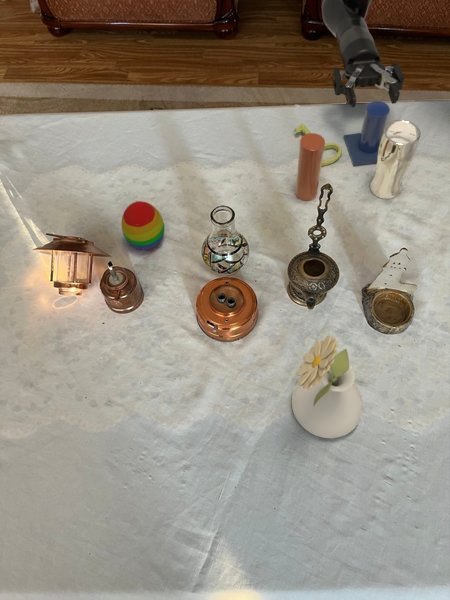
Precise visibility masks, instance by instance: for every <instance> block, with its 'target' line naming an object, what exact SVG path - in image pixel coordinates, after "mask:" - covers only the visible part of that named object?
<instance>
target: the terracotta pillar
mask: <svg viewBox="0 0 450 600" xmlns="http://www.w3.org/2000/svg"><path fill="white" fill-rule="evenodd" d="M325 144H326V140H325V138H324V137H323V136H322V135H320V134H318V133H316V132H315V133H314V132H311V133H309V134H306V135H305V134H303V136H301V137H300V140H299V148H298V157H297V158H298V160H297V170H296V180H295V190H294V194H295V196H296V197H297V199H299V200H300V201H304V202H309V201H310V202H311V201H312V200H314V199H316V197H317V196H318V193H319V192H318V191H319V185H320V178H321V172H322V166H321V165H322V161H323V158H324V151H325V150H324V145H325Z"/></svg>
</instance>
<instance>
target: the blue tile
mask: <svg viewBox="0 0 450 600" xmlns="http://www.w3.org/2000/svg"><path fill="white" fill-rule="evenodd" d="M360 135H361V132H355V133H349V134H344V135H343V140H344V143H345V145H346V149H347V151H348V154H349V157H350V160H351V163H352V166H353V167H360V166H369V165H377V152H375V153H371V154H369V153H364V152H362V151H361V150H360V149H359V147H358V143H359V139H360Z"/></svg>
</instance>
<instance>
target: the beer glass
mask: <svg viewBox="0 0 450 600" xmlns="http://www.w3.org/2000/svg"><path fill="white" fill-rule="evenodd" d="M420 138H421V130H420V128H419V127H418V126H417V124H415V123H414V122H411V121H409V120H406V119H396V120H392V121H390V122H389V123H386V126H385V129H384V132H383V135H382V137H381V140H380V143H379V147H378V151H377V163H376V166H375V167H376V168H375V174H374V177H373V178H372V180H371V181H370V185H369V186H370V187H369V189H370V192H371V193H372V194H373V195H374V196H376V197H377V198H380V199H383V200H389V199H394V198H395V197H397V196H398V195H399V194H400V192H401V186H402V180H403V178H404V176H405V174H406V172H407V171H408V169H409V168H410V166H411V164H412V162H413V160H414V159H415V156H416V153H417V151H418V147H419V142H420Z"/></svg>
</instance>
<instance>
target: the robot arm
mask: <svg viewBox="0 0 450 600" xmlns="http://www.w3.org/2000/svg"><path fill="white" fill-rule="evenodd" d="M371 3H372V0H323V1H322V3H321V17H322V20H323V23H324V25H325V26H326V28H327V29H328V30H329V31H330V33H331V34H332V35H333V36H334V37H335V38H336V41H337V44H338V45H337V46H338V49H339V57H340V59H341V61H342V65H343V68H344V70H340V68H339V67H337V66H336V67H333V72H332V77H331V80H332V84H333V91H334V95H335V96H340V95H343V96H344V98H345V102H346V104H347V105H348V106H350V108H355V107H356V104H357V96H356V93H355V91H356V89H357V88H358V87H360V88H366V87H376V88H378V89H380V90H385V91H387V93H388V96H389V99H390V102H391V104H393V105H394V104H397V101H399V99H400V96H401V95H400V94H401V93H400V91H401V90H402V89H403V85H404V82H405V76H404V74H403V72H402V70H401V68H400V65H399V63H398V62H396V61H393V62H392V63H391V65H387V66H385V65H384V64H382V62H381V57H380V54H379V51H378V49H377V46H376V43H375V41H374V38H373V36H372V34H371V33H370V31H369V26H368V25H367V22H366V17H367V14H368V12H369V11H368V10H369V8H370V5H371ZM344 78H345V79H346V80H347V82H346V83H345V84H343V79H344ZM388 83H389V84H388Z"/></svg>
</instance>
